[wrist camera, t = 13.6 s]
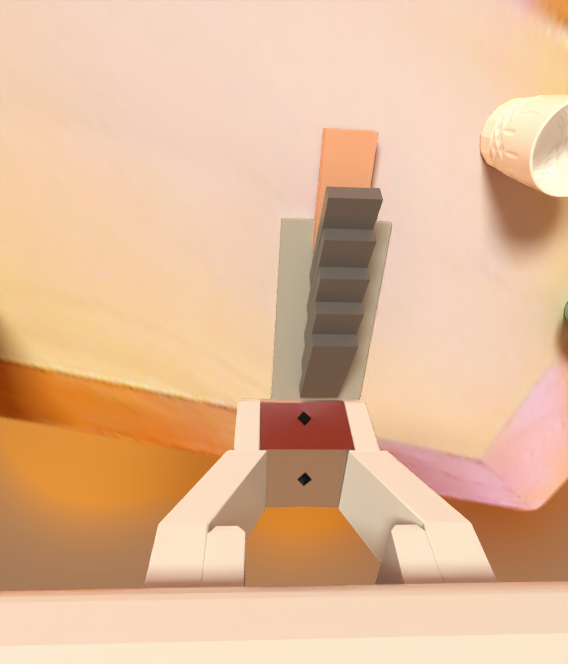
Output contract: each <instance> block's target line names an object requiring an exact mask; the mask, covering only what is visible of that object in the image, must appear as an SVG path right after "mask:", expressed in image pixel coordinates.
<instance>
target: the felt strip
mask: <svg viewBox="0 0 568 664" xmlns="http://www.w3.org/2000/svg"><path fill="white" fill-rule="evenodd" d="M314 223H315V219H298V218H281V235H280V253H279V271H278V288H277V306H276V324H275V342H274V360H273V378H272V396H271V399H280V400H341V401H342V400H359V399H360V394H361V388H362V383H363V377H364V372H365V367H366V361H367V356H368V350H369V345H370V340H371V334H372V329H373V323H374V318H375V313H376V307H377V302H378V296H379V291H380V286H381V280H382V275H383V269H384V264H385V259H386V253H387V248H388V242H389V237H390V232H391V226H392V223H391V222H381V221H376V222H375V226H374V229H373V230H374V233H375V237H376V241H377V242H376V245H375V247H374V250H373V253H372V256H371V259H370V262H369V265H368V272H369V276H370V282H369V284H368V287H367V290H366V293H365V295H364V298H363V301H362V306H363V311H364V316H363V319H362V321H361V324H360V326H359V329H358V332H357V334H356V336H357V341H358V349H357V351H356V354H355V356H354V359H353V361H352V364H351V366H350V368H349V371H348V373H347V376H346V378H345V381H344V383H343V386H342V388H341V390H340V393H339V395H338V397H327V398H300V394H299V384H300V380H301V376H302V364H301V361H302V357H303V352H304V348H305V341H304V332H305V328H306V323H307V319H308V316H307V302H308V297H309V292H310V288H311V286H310V278H309V275H310V270H311V265H312V259H313V254H314V251H313V249H312V245H313V234H314Z"/></svg>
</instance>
